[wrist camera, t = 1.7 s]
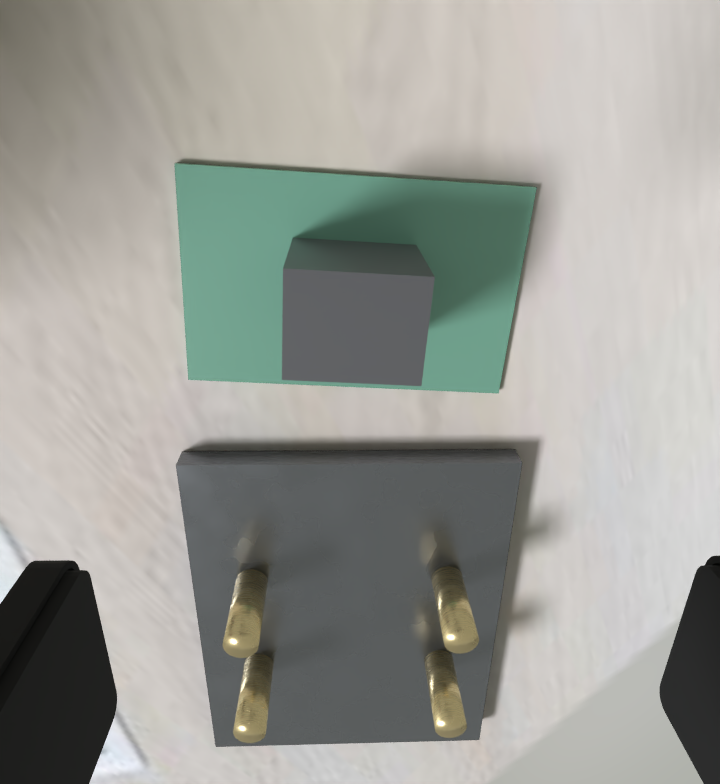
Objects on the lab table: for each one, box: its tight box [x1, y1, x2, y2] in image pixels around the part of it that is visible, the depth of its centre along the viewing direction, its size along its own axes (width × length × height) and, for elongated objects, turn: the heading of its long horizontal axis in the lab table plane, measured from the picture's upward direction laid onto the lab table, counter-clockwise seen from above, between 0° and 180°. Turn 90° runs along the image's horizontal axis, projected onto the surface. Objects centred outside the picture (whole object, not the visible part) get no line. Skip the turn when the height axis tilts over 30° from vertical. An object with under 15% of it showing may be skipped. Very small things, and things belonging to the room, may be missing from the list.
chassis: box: [176, 449, 522, 747], centre depth 31 cm, size 20×16×5 cm
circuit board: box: [175, 163, 537, 393], centre depth 23 cm, size 14×9×6 cm, turn 86°
